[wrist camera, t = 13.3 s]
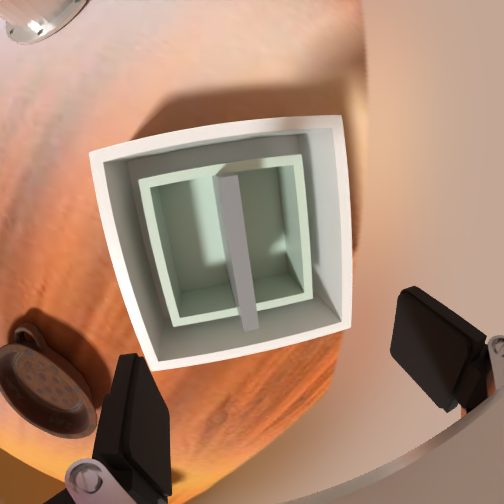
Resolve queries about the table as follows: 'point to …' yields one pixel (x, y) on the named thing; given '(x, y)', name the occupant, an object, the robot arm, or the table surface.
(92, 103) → the table surface
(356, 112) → the table surface
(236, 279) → the small crate
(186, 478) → the table surface
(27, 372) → the dish
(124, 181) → the big crate
